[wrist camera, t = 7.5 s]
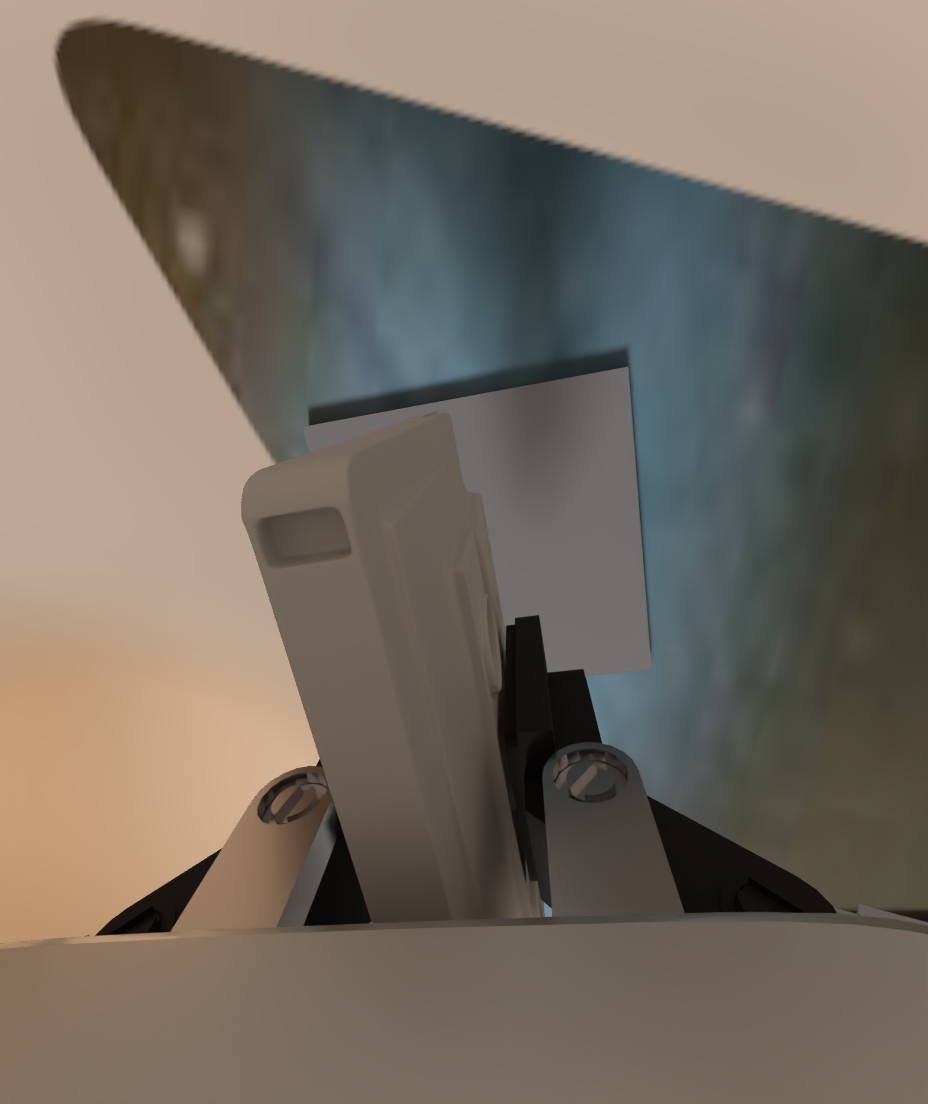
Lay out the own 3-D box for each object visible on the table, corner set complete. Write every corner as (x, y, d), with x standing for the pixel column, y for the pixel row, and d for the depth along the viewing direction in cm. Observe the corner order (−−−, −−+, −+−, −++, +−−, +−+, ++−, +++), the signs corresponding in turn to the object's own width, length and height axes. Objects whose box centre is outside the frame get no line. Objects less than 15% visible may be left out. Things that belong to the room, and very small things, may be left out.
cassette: (388, 419, 11) (164, 482, 4) (472, 403, 11) (404, 438, 4) (481, 845, 15) (456, 1302, 7) (547, 840, 14) (587, 1307, 7)
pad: (624, 367, 18) (628, 366, 18) (647, 662, 22) (651, 669, 21) (308, 425, 20) (302, 426, 19) (377, 691, 23) (374, 699, 23)
